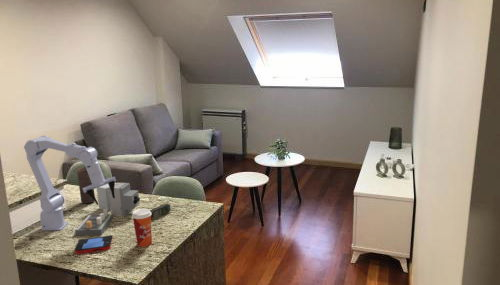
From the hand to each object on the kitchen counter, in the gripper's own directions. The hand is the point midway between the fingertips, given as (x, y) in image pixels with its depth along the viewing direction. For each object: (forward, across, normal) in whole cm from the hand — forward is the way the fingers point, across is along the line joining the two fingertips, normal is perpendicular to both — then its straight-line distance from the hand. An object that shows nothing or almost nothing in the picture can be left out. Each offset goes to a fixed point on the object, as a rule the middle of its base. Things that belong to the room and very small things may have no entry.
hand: (105, 201), depth 185 cm
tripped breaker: (+10, -10, +4) cm, 15 cm away
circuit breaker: (+14, +8, +19) cm, 25 cm away
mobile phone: (+19, +22, +8) cm, 30 cm away
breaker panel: (+12, -8, +10) cm, 18 cm away
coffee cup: (+20, +8, -18) cm, 28 cm away
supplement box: (+11, +2, +31) cm, 33 cm away
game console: (+15, -11, -8) cm, 21 cm away
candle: (+7, -7, +44) cm, 45 cm away
